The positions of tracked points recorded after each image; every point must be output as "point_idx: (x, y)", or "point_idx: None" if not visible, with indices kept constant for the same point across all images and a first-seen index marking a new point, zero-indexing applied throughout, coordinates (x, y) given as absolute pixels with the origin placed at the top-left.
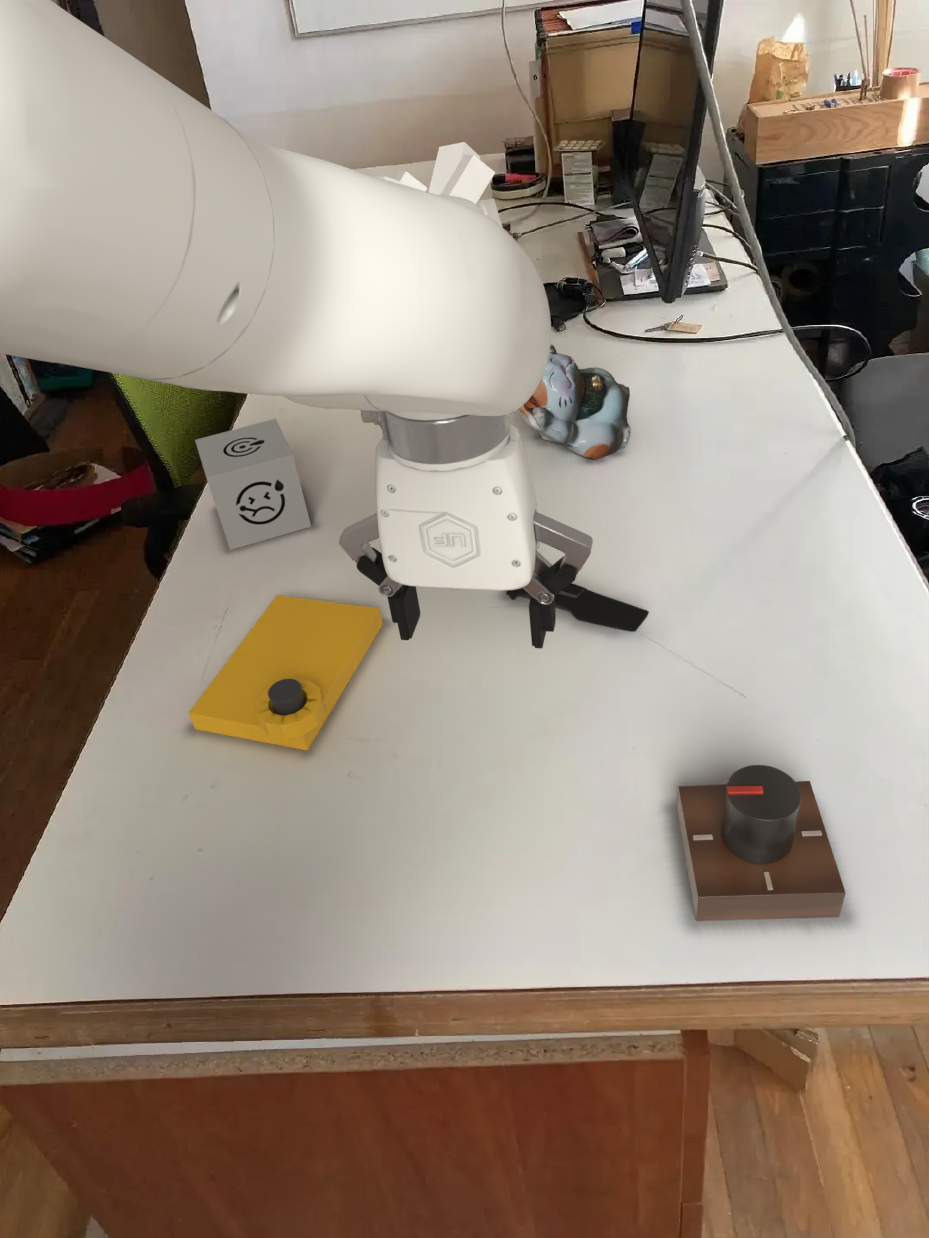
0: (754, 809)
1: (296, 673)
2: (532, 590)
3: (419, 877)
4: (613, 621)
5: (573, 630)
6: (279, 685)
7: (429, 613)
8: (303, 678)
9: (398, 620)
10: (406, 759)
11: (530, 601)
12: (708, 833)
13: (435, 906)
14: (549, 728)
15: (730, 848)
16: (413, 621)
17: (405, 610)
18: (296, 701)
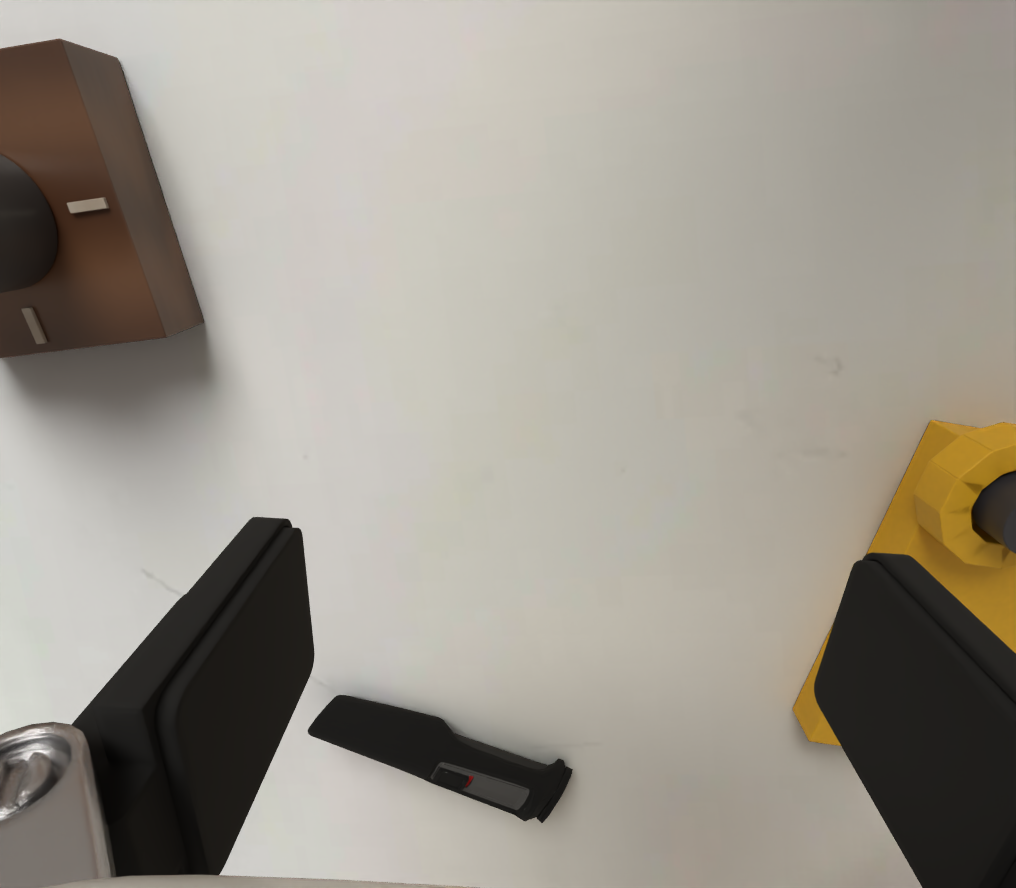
0: None
1: (978, 590)
2: (49, 846)
3: (673, 112)
4: (373, 714)
5: (448, 698)
6: None
7: (707, 731)
8: (963, 578)
9: (985, 632)
10: (724, 409)
11: (178, 747)
12: (82, 219)
13: (632, 36)
14: (460, 493)
15: (20, 172)
16: (861, 646)
17: (977, 690)
18: (1008, 498)
